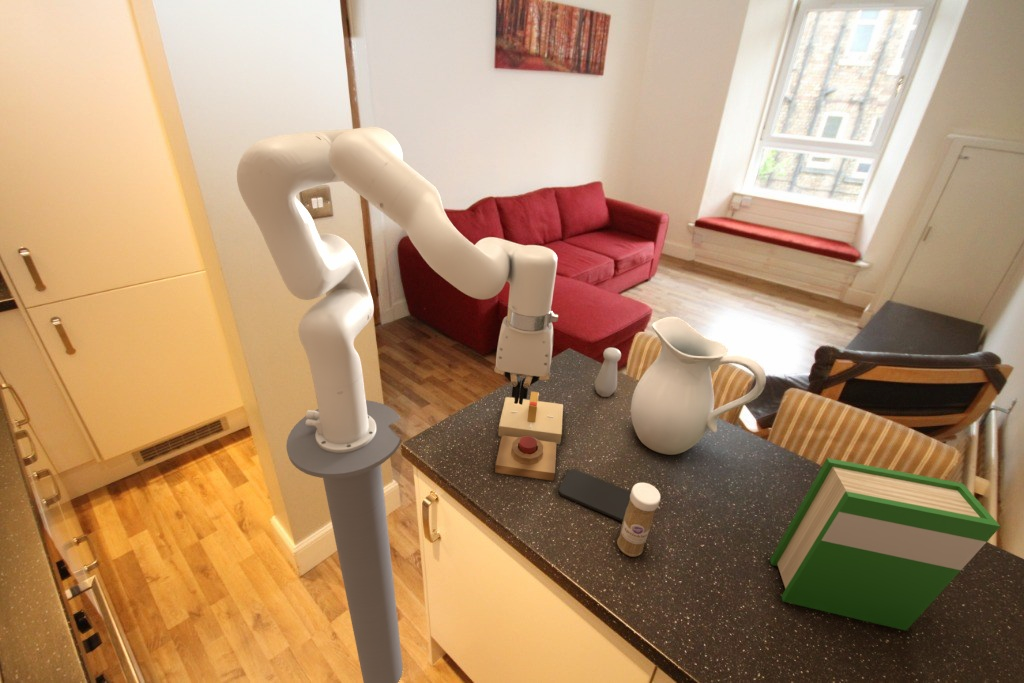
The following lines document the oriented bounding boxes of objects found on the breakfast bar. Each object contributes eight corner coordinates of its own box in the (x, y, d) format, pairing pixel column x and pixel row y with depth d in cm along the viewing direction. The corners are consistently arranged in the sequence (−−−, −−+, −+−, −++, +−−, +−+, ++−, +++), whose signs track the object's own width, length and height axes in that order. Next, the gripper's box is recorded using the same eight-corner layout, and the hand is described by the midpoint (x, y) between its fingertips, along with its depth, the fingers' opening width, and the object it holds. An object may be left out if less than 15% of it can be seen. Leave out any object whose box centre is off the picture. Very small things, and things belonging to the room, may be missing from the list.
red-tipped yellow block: (529, 406, 106) (531, 390, 103) (537, 407, 106) (538, 391, 103) (527, 421, 101) (529, 404, 99) (535, 422, 101) (537, 405, 98)
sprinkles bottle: (619, 557, 76) (635, 502, 69) (614, 534, 80) (629, 480, 73) (646, 558, 76) (664, 504, 69) (639, 535, 80) (656, 481, 73)
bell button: (518, 453, 91) (518, 446, 90) (519, 441, 94) (520, 434, 93) (535, 455, 91) (536, 449, 90) (536, 443, 94) (537, 437, 93)
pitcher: (610, 433, 104) (634, 328, 90) (650, 406, 114) (677, 308, 100) (705, 497, 89) (752, 382, 75) (742, 460, 99) (789, 353, 85)
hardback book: (783, 601, 71) (848, 496, 59) (770, 560, 77) (826, 457, 66) (906, 630, 68) (1000, 526, 56) (882, 585, 75) (962, 483, 63)
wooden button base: (494, 472, 91) (495, 458, 89) (501, 442, 99) (502, 428, 97) (553, 481, 90) (555, 466, 88) (555, 450, 98) (557, 436, 96)
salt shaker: (592, 396, 116) (600, 353, 110) (593, 384, 121) (601, 342, 115) (614, 400, 115) (624, 358, 109) (615, 388, 120) (624, 346, 114)
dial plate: (498, 436, 100) (498, 425, 99) (504, 406, 110) (505, 396, 108) (560, 444, 99) (561, 433, 98) (561, 414, 109) (563, 403, 107)
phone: (570, 467, 92) (642, 496, 87) (569, 470, 93) (641, 499, 87) (556, 491, 86) (633, 524, 81) (556, 494, 87) (632, 527, 81)
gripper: (570, 313, 81) (557, 394, 91) (490, 302, 83) (485, 383, 92) (570, 332, 75) (555, 417, 84) (483, 320, 76) (478, 406, 85)
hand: (519, 399), depth 88 cm, fingers closed
